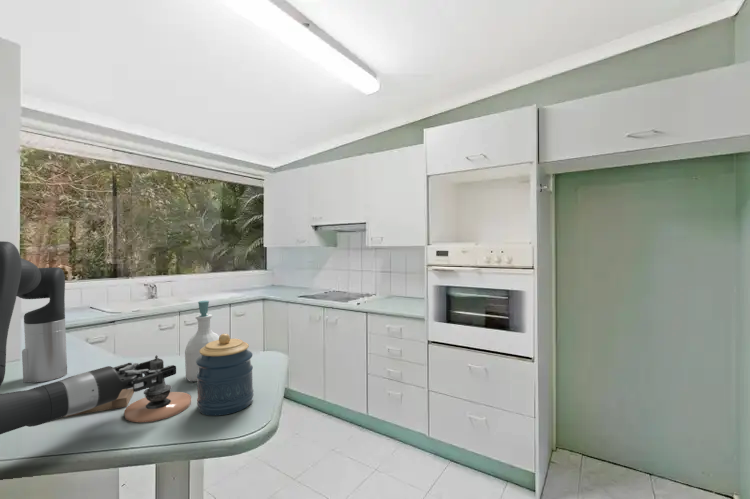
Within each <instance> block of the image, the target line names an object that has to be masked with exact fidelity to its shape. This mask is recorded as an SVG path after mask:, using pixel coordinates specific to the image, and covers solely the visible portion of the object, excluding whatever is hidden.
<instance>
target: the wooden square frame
mask: <svg viewBox="0 0 750 499" xmlns="http://www.w3.org/2000/svg"><path fill="white" fill-rule="evenodd" d="M134 393H135V392H133V389H123V390H122V391H121V392H120V394H119V396H118V398H117V399H116V400H114V401H111V402H108V403H105V404H103V405H100V406H97V407H94V408H91V409H88V410H85V411H82V412H79V413H76V414H72V415H67V416H64V417H61V418H67V417H73V416H79V415H85V414H92V413H96V412H102V411H108V410H113V409H114V410H115V409H121V408H125V407H126V408H127V407H128V406H129V405H128V404H130V402H131V399H132V397H133V395H134Z"/></svg>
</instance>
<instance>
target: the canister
mask: <svg viewBox="0 0 750 499" xmlns="http://www.w3.org/2000/svg"><path fill="white" fill-rule="evenodd" d="M219 336H220V337H219V340H216V341H212V342H210V343H208V344H206V346H204V347H203V348H201V349H200V351H199V352H200V354H201V356H200V357H199V358H198V359H197V360H196V364H197V365H198V366H199V368H198V372H197V374H196V377H197V381H196V383H197V384H196V385H197V389H196V390H197V398H196V401H197V402H196V405H197V407H198V412H199V413H201V414H202V415H206V416H212V417H213V416H215V417H216V416H225V415H230V414H234V413H237V412H240V411H242V410H244V409H246V408H247V407H249V406H250V405H251V404H252V402H253V399H254V389H253V388H254V386H253V383H254V382H253V365H252V363H251V359H252V357H253V354H254V353H253V352H252V351H250V350H249V344H248V343H247V342H246V341H243V340H242V339H239V338H231V337H230V334H228V333H221V335H219Z"/></svg>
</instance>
